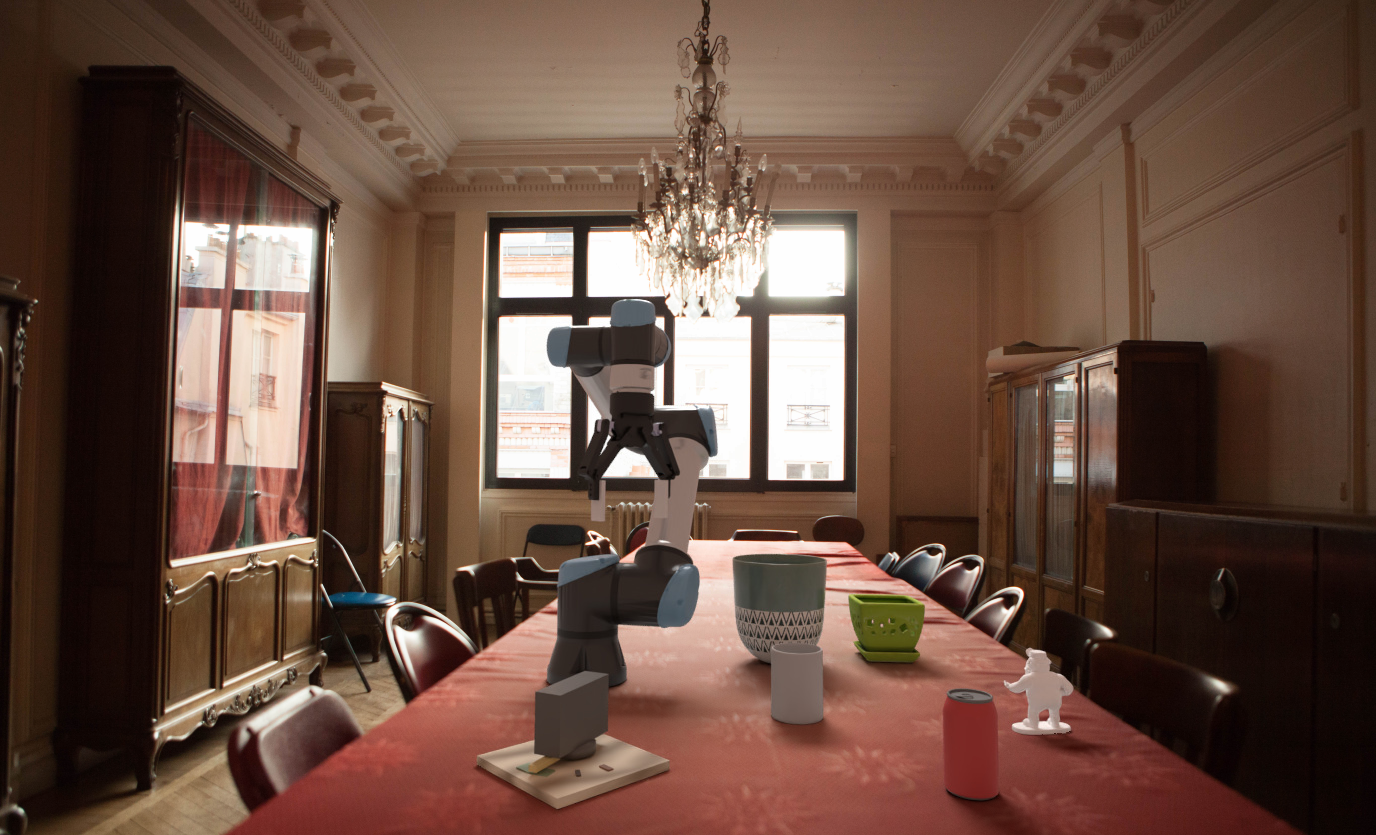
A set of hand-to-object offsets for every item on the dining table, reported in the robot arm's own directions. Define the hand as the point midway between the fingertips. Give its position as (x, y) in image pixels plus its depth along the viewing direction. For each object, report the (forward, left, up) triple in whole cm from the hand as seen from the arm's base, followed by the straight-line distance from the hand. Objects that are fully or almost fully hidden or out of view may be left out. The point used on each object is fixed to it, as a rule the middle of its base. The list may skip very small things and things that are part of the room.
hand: (630, 519), depth 130 cm
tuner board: (+13, -20, -32) cm, 40 cm away
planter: (-6, +46, -32) cm, 56 cm away
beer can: (+53, +12, -32) cm, 63 cm away
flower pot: (+7, +66, -32) cm, 74 cm away
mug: (+18, +21, -32) cm, 42 cm away
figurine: (+49, +43, -32) cm, 73 cm away
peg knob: (+12, -20, -30) cm, 38 cm away
